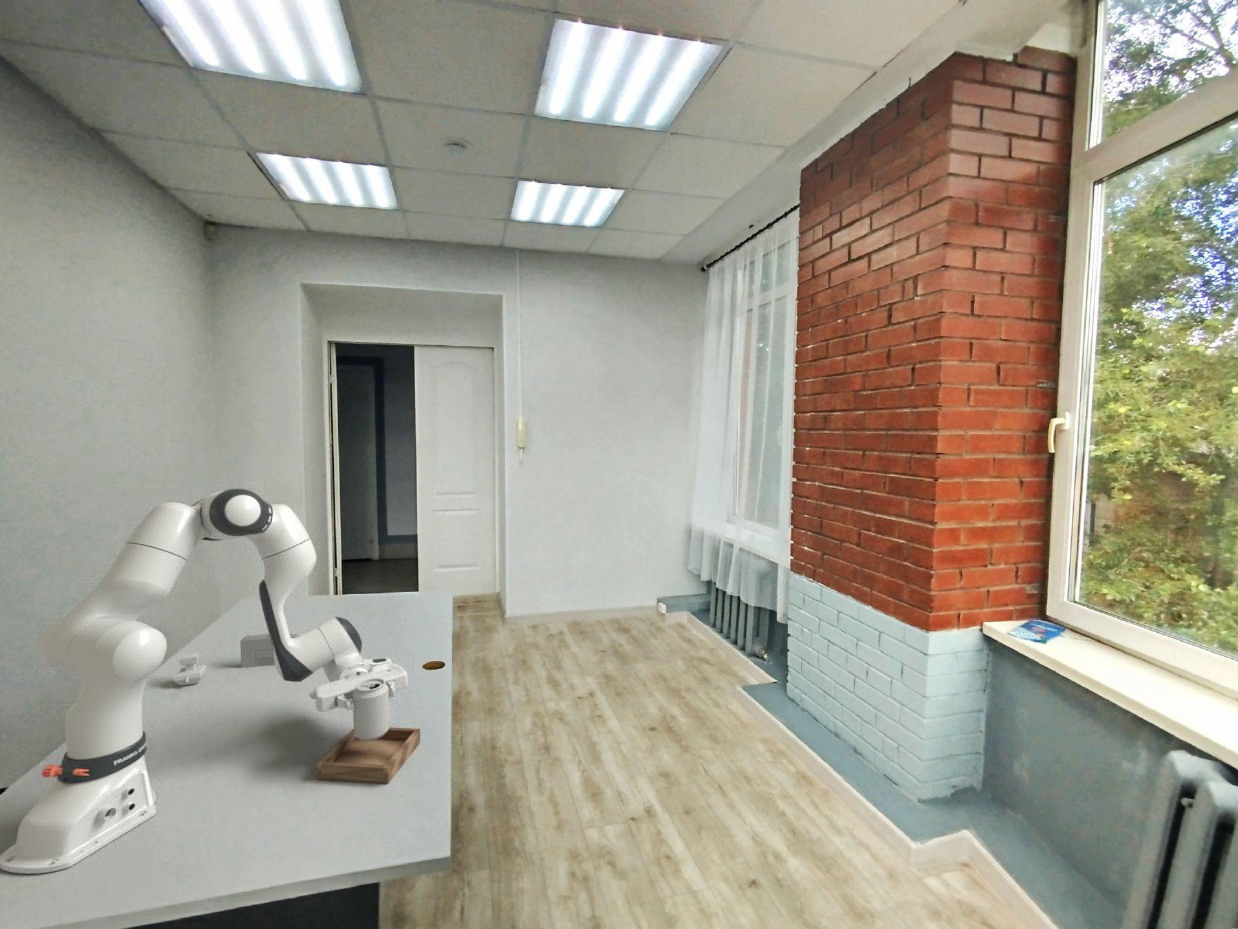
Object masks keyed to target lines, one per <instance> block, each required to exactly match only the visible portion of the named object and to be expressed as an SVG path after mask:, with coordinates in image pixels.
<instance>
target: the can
mask: <svg viewBox="0 0 1238 929" xmlns="http://www.w3.org/2000/svg"><path fill="white" fill-rule="evenodd" d="M389 699H390V698H389V687H388V686H387V685H386V684H385V680H383V679H380V678H371V679H367V680H364V681H361V682H359V683H358V684H357V685H356V689H355V690H354V692H353V700H354V702H355V705H354V706H355V708H354V709H352V714H353V716H352V717H353V718H352V719H353V729H354V736H355V737H357V738H358V739H360V740H363V741H370V740H375V739H378V738H380V737H382V736H383V735H384V734H385V733H386V732H387V731H388V729H389V727H390V703H389V702H390V700H389Z"/></svg>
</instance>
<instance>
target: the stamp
mask: <svg viewBox="0 0 1238 929" xmlns="http://www.w3.org/2000/svg"><path fill="white" fill-rule="evenodd" d="M199 659H200V652H192V653H185V654H180V656H179V658H178V662H179V664H180V665H181V666H182V668H181V669H180V670H179V671H178V672H177V674H175V676H174V678H173V682H174V683H176V684H177V685H178V686H181V687H182V686H187V685H188V686H190V685H195V684H198V683H199V682H200V680H201V679H202V678H203V676H204V674H205V672H206V671H207V669H208V667H207V666H206V665H205V664H203V665H196V663H197V662H198V661H199ZM184 666H185V667H184Z"/></svg>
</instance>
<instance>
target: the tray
mask: <svg viewBox="0 0 1238 929" xmlns="http://www.w3.org/2000/svg"><path fill="white" fill-rule="evenodd" d="M420 744H421V729H420V728H408V727H407V728H406V727H391V726H389V729H388V731H387V732H386V733H385V734H384V735H383V736H382V737H380V738H378V739H375V740H370V741H363V740H360V739H358V738H357V737H355V736H354V728H352V729H351V731H349V732H348V734H346V735H345V736H344V738H342V739H341V740H340V741H339V742H338V743H337V744H336V745H335V746H334V747H333V748H332V749H331V750H330V751H329V752H328V753H327V754H326V755H325V756H324V757H322V758H321V759H320V760H319V761H318V762H317V763H316V777H317V778H316V780H320V781H335V782H336V781H338V782H353V783H367V784H368V783H371V784H386V785H387V784H388V785H389V783H390V782H391V781H392V780H393V778H394V777H395V776H396V774H398V772H399V771H400V769H401V768H402V767H403V766H404V765H405V763H406V762H407V760H408V759H409V758H410V756H412V754H413V753H414V752H415V751H416V749H417V748H418V747H419V745H420ZM416 747H417V748H416Z"/></svg>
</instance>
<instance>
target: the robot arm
mask: <svg viewBox="0 0 1238 929" xmlns="http://www.w3.org/2000/svg"><path fill="white" fill-rule="evenodd" d="M239 537H240V538H241V537H244V538H247V539H248V540H249V541H251V542H252V543H253V545H254V546H255V547H256V549H257V551H258V554H259V556H260V558H261V560H262V562H263V566H264V576H263V579H262V580H261V581H260V583H259V584H258V594H259V599H260V600H259V601H260V602H261V603H260V604H261V607H262V613H263V617H264V620H265V623H266V626H267V627H266V628H267V631H268V633H269V635H270V639H271V642H272V646H273V650H274V661H275V665H274V666H275V670H276V672H277V674H278V675H279V676H280V678H282V680H284V681H286V682H291V683H292V682H294V683H295V682H296V683H301V682H303V681H304V680H305V679H307V678H309V677H310V676H312V675H313V674H314V673H315V672H317V671H318V670H320V669H322V668H323V671H324V674H325V676H326V677H327V680H328V681H329V682H326V683H322V684H320V685H318V686H316V687H315V688H314V690H311V691H309V694H308V695H309V697H310V699H312V700H315V701H314V702H315V707H316V710H317V711H318V712H323V713H324V712H328V711H331V710H335V709H337V708H339V709H346V710H347V711H350V710H353V709H354V708H355V706H354V705H355V702H354V700H353V692H354V690H355V689H356V685H357V684H358V683H359V682H361V681H364V680H367V679H371V678H380V679H383V680H385V684H386V685H387V686H388V687H389V699H390V698H395V697H396V691H399V690H402V689H406V688H407V686H408V684H409V682H408V680H409V678H408V672H407V671H406V669H404V668H403V667H402V666H400V665H399V664H397V663H393V662H392V659H391V658H389V657H386V658H376V659H375V658H374V659H372V658H371V659H370V658H369V659H367V658H363V656H361V655H360V654H361V652H362V650H363V649H362V647H363V642H362V639H361V637H360V634H359V632H358V631H357V629H356V628H355V626H354V625H353V624H352V623H351V622H350V621H349V620H348V619H347V618H343V617H339V616H334V617H331V618H330V619H328V620H326V621H324V622H322V623H320V624H319V625H316V626H315V627H313V628H312V629H310V630H308V631H306V632H303V633H302V634H300V635H299V636H298V637H296V638H291V637H290V634H291V633H290V631H289V628H288V623H287V619H286V616H285V611H284V605H285V603H286V601H287V599H288V597H290V595H291V594H292V592H294V591H295V590H296V589H297V588H298V587H299V586H300V585H301V584H302V583H303V582H304V581H306V579H307V578H308V577H309V576H310V575H311V573H312V571H313V570H314V568H315V566H316V563H317V559H318V558H317V553H316V549H315V547H314V544H313V541H312V539H311V537H310V536H309V534H308V532H307V530H306V528H305V526H304V524H303V523H302V521H301V520H300V519H299V518H298V516H297V514H296V513H295V512H294V511H293V509H292V508H290V506H288V505H287V504H284V503H283V504H282V503H273V504H270V503H268V502H267V501H265V500H264V499H263V498H262V497H260V496H259V495H258V494H256V493H255V492H253V491H251V490H248V489H244V488H229V489H226V490H223V491H218V492H215V493H212V494H209V496H207V497H204V498H202V499H200V500H198V501H197V502H195V503H194V504H192V505H188V504H185V503H181V502H177V501H176V502H175V501H169V502H168V501H167V502H163V503H158V504H157V505H155V506H154V507H152V509H151V510H150V511H149V512H148V513H147V514H146V515H145V517H143V519H142V520H141V521H140V522H139V524H138V525H137V526H136V527H135V528H134V530H133V531H132V533H131V534H130V535H129V537H128V539H127V540H126V541H125V543H124V545H123V547H122V548H121V549H120V551H119V553H118V554H117V556H116V558H115V559H114V561H113V562H112V563H111V565H110V567H109V569H108V570H107V571H106V574H104V575H103V578H102V579H101V580H100V582H99V583H98V584H97V585H95V587H93V589H92V590H90V593H88V594H87V595H86V596H85V597H84V598H83V599H82V600H81V601H79V603H78V604H77V605H75V607H73V608H72V609H71V610H70V611H69V612H68V613H66V614H65V615H63V616H62V617H59V618H58V619H56V620H54V621H52V622H50V623H49V624H48V625H46V626H45V627H44V628H43V629H42V630H41V632H40V633H39V635H38V636H37V638H36V641H35V653H36V656H37V657H38V659H39V660H41V661H42V662H43V663H44V664H46V665H47V666H49V667H50V668H52V669H54V670H56V671H59V672H63V673H68V674H72V675H77V676H78V677H79V679H80V682H81V685H80V691H79V695H78V697H77V700H76V702H75V703H73V704H72V705H71V706H70V707H69V709H68V710H67V711H66V713H65V717H64V722H65V724H64V726H65V740H66V741H65V743H66V744H65V745H66V752H65V753H64V754H63V758H62V760H61V763H60V765H59V764H57V765H54V764H48V765H46V766H44V768H43V769H42V770H41V776H42V777H43V778H49V777H50V778H56V780H55V781H54V782H53V784H52V785H51V786H50V787H49V788H48V789H47V791H46V792H45V793H44V794H43V795H42V796H41V798H40V799H39V800H38V801H37V802H36V803H35V804H34V806H33V807H31V809H30V810H29V812H27V813H26V815H25V816H24V817H23V818H22V819H21V820H20V823H19V826H18V829H17V835H16V842H15V843H14V844H13V845H12V846H10V847H9V848H7V849H6V850H5V851H3V853H1V854H0V869H1V870H2V871H6V872H10V873H15V874H28V875H29V874H30V875H31V874H32V875H33V874H45V873H52V872H57V871H60V870H64V869H67V868H70V867H72V866H74V865H76V864H77V863H78V862H80V861H82V860H83V859H86V858H87V857H88V856H90V855H92V854H94V853H95V852H96V851H98V850H99V849H101V848H103V847H105V846H106V845H108V844H110V843H112V842H113V841H115V840H116V839H118V838H120V837H121V836H123V835H124V834H125V833H128V832H130V831H131V830H132V829H134V828H136V827H137V826H139V825H140V824H143V823H144V822H146V821H147V820H149V819H151V818H152V817H154V816H155V815H156V814H157V807H156V805H155V803H156V801H157V795H156V792H155V791H154V788H153V786H152V783H151V780H150V776H149V771H148V767H147V763H146V757H145V754H146V752H147V750H148V749H147V748H148V747H147V737H146V736H147V735H146V732H145V731H144V728H143V727H144V726H143V697H144V690H145V688H146V685H147V681H148V679H149V676H150V675H151V674H152V673H153V672H154V671H156V669H157V668H158V667H160V666H161V664H162V663H163V660H164V659H165V656H166V654H167V650H168V643H167V638H166V637H165V635H164V634H163V633H162V632H161V631H159V630H158V629H156V628H155V627H152V626H150V625H149V624H147V623H144V622H141V621H138V619H139V618H140V617H141V616H142V615H143V614H144V613H145V612H146V611H147V610H148V609H149V608H151V607H152V606H153V605H155V604H158V603H159V602H161V601H162V600H164V599H165V598H166V597H168V595H169V594H170V592H171V591H172V589H173V587H174V585H175V583H176V582H177V579H178V578H179V576H180V574H181V573H182V570H183V569H184V567H185V565H186V563H187V562H188V560H189V557H190V556H191V554H192V551H193V550H194V548H195V547H196V546H197V545H198V544H199V542H200V541H209V542H210V541H211V542H214V541H215V542H216V541H218V542H219V541H223V540H234V539H237V538H239Z"/></svg>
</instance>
